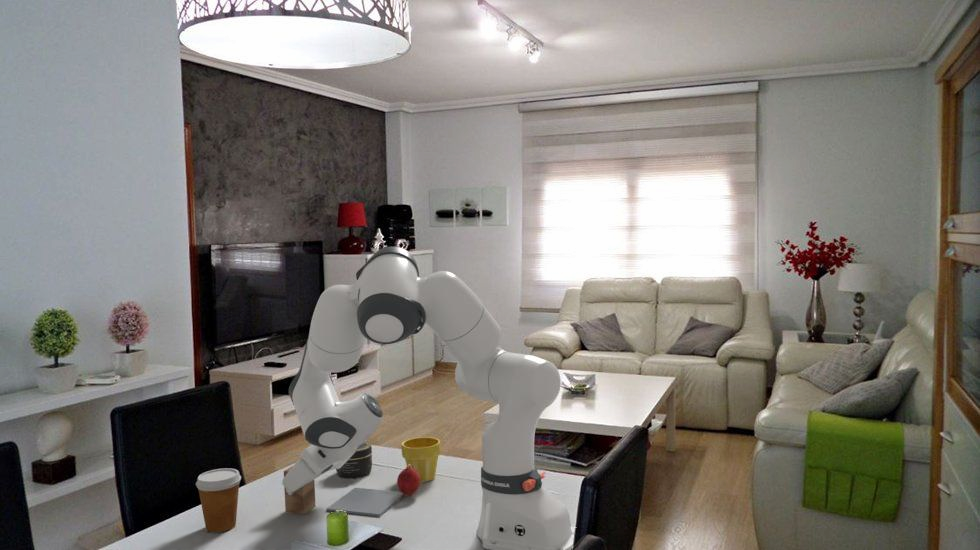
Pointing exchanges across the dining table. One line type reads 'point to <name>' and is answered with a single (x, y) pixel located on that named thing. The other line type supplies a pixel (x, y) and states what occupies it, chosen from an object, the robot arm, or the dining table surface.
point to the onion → (408, 481)
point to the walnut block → (300, 498)
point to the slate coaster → (366, 501)
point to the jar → (357, 463)
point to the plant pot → (422, 455)
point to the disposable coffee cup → (219, 498)
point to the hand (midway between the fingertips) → (297, 487)
